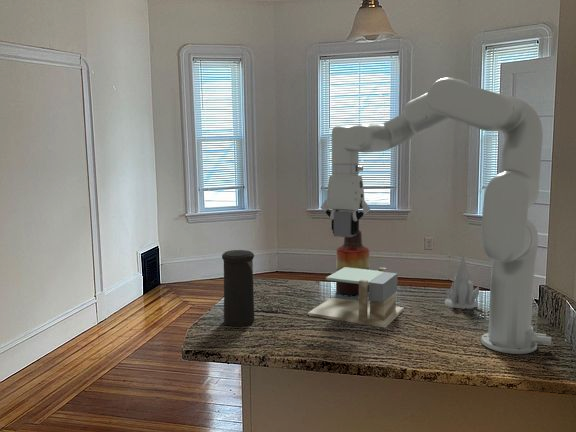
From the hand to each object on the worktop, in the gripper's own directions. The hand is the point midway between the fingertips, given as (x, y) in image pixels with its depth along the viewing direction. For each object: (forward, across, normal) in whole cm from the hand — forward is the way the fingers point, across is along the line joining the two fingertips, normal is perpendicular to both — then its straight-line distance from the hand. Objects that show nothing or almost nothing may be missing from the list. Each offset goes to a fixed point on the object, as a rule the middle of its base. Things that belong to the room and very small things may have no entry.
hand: (345, 233), depth 159 cm
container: (+23, +22, +22) cm, 39 cm away
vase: (+23, +6, -20) cm, 31 cm away
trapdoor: (+17, -5, 0) cm, 18 cm away
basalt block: (+1, 0, 0) cm, 1 cm away
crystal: (+24, -28, -23) cm, 44 cm away
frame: (+23, -4, 0) cm, 23 cm away
